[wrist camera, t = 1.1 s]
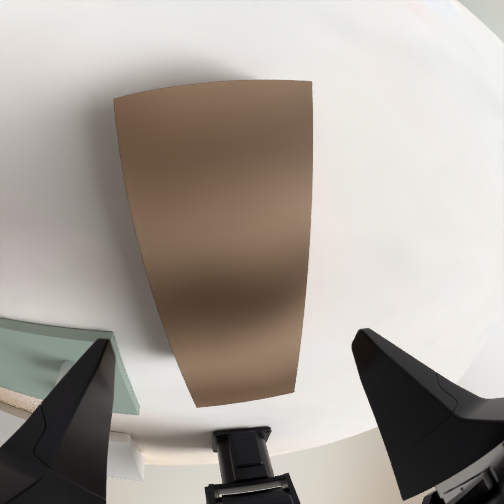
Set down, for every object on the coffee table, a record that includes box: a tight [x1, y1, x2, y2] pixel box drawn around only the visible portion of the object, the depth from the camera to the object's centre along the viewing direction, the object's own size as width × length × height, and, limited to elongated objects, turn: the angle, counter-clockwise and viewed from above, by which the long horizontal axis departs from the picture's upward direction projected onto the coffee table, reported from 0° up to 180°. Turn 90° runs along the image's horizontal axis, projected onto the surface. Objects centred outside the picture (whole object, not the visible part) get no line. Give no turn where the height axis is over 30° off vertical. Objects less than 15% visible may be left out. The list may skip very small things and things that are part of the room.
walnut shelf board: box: [114, 80, 313, 408], centre depth 13 cm, size 16×6×4 cm, turn 2°
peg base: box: [0, 318, 140, 415], centre depth 14 cm, size 10×20×5 cm, turn 83°
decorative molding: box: [0, 402, 145, 482], centre depth 21 cm, size 34×5×10 cm
